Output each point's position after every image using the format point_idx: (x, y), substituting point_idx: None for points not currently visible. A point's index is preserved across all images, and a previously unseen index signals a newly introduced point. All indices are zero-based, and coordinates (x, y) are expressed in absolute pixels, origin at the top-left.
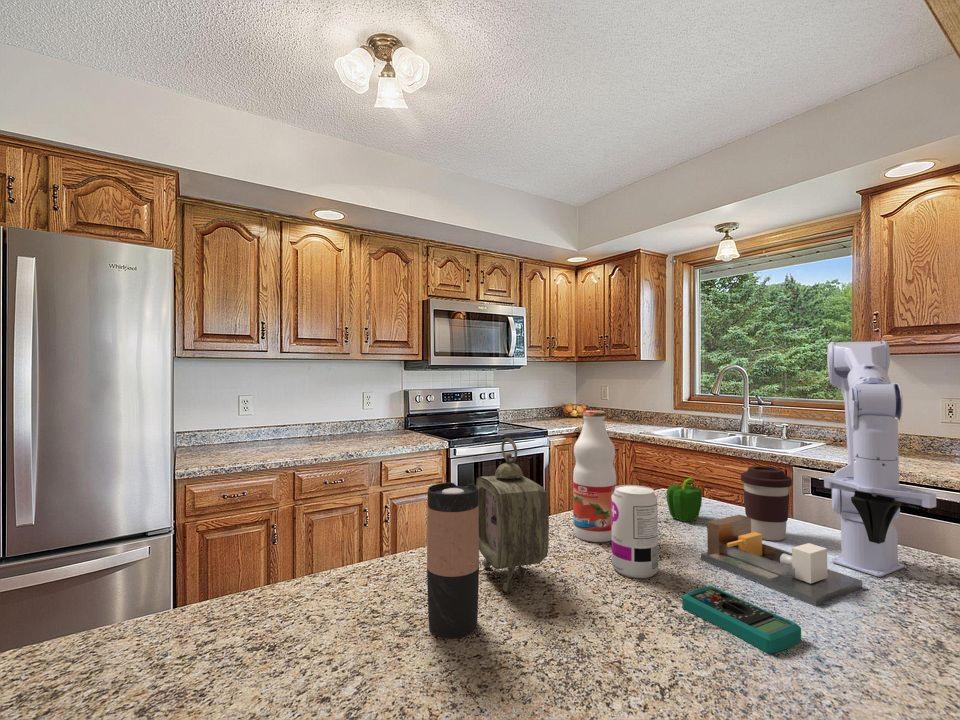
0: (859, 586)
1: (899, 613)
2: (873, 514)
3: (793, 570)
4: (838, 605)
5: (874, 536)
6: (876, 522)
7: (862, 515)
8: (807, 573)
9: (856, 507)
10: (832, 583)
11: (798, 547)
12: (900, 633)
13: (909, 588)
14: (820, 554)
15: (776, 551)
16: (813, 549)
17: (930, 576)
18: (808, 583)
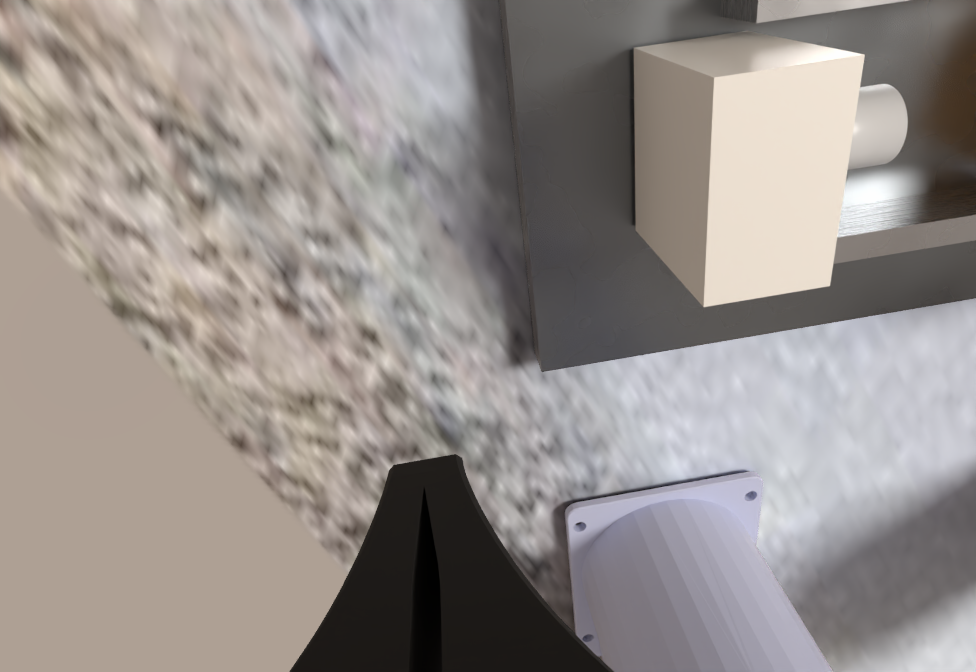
0: (534, 334)
1: (286, 250)
2: (386, 661)
3: (751, 2)
4: (446, 27)
5: (407, 489)
6: (374, 596)
7: (512, 604)
8: (675, 53)
9: (581, 658)
10: (585, 195)
11: (835, 119)
12: (100, 18)
13: None
14: (694, 212)
15: (961, 212)
16: (746, 192)
17: None
18: None
